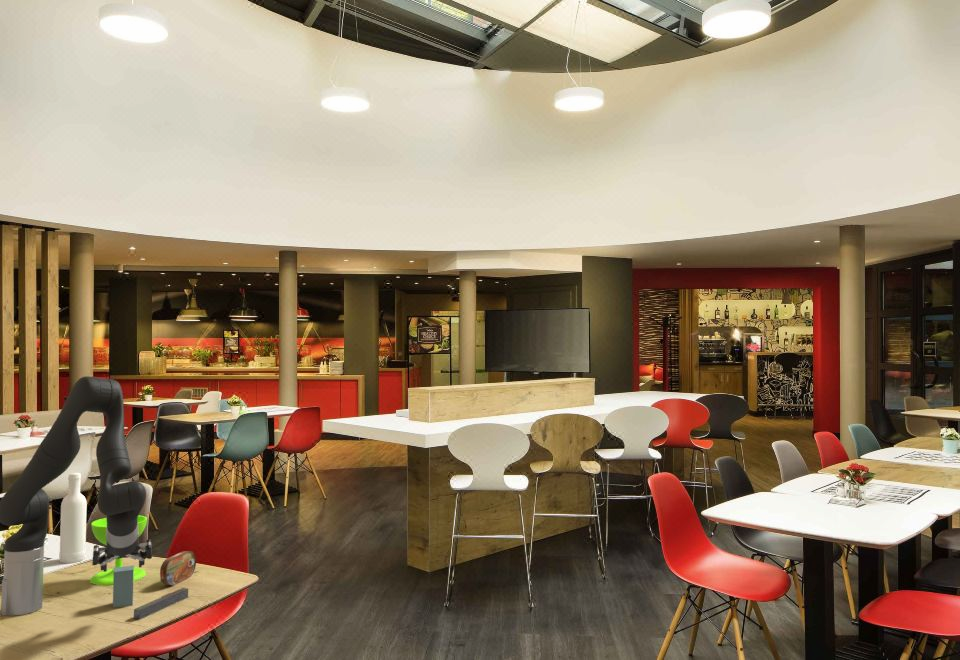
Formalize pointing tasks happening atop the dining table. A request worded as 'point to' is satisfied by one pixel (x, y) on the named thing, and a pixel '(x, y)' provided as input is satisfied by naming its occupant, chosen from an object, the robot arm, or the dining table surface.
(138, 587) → the dining table surface
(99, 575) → the wineglass
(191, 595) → the dining table surface
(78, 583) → the dining table surface
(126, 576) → the carton
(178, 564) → the tin
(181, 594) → the price rail
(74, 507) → the bottle
